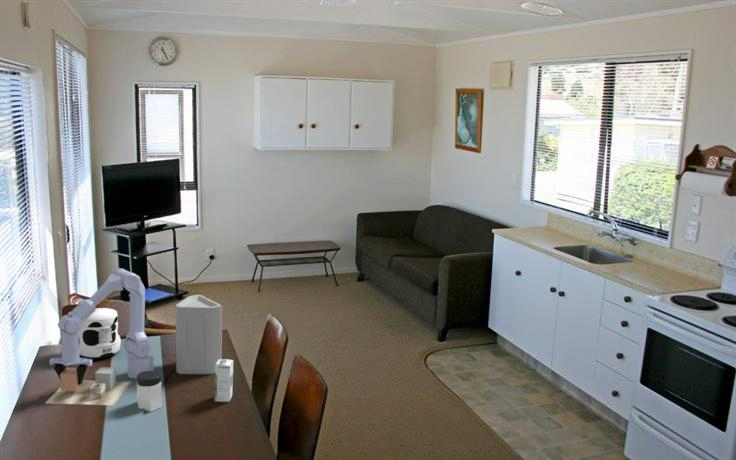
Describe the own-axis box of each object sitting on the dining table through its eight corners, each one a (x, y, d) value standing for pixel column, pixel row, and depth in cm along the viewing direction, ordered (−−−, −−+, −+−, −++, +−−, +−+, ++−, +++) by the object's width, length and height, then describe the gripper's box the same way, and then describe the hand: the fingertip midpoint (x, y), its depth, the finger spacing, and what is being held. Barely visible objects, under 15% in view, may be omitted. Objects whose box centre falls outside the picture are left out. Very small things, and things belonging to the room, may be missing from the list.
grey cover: (116, 383, 251) (115, 367, 249) (110, 390, 245) (110, 373, 244) (101, 383, 250) (100, 367, 249) (95, 389, 245) (95, 373, 244)
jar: (163, 409, 234) (162, 378, 232) (139, 413, 230) (138, 381, 228) (159, 399, 242) (158, 368, 239) (135, 402, 238) (135, 371, 236)
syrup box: (217, 395, 247) (217, 358, 245) (233, 395, 248) (233, 359, 245) (214, 401, 242) (214, 364, 239) (230, 402, 242) (230, 365, 239)
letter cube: (105, 393, 242) (105, 383, 241) (101, 398, 238) (101, 387, 237) (94, 393, 242) (94, 382, 241) (90, 398, 238) (89, 387, 237)
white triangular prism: (166, 365, 272) (166, 300, 267) (199, 357, 282) (199, 294, 277) (188, 380, 259) (188, 312, 253) (222, 371, 269) (222, 305, 263)
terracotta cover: (82, 384, 244) (82, 368, 243) (76, 391, 238) (76, 374, 237) (67, 384, 244) (66, 367, 242) (60, 390, 238) (60, 373, 237)
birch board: (131, 384, 253) (131, 381, 253) (113, 407, 234) (113, 405, 233) (68, 382, 252) (68, 379, 252) (44, 405, 233) (44, 403, 232)
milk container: (91, 344, 290) (89, 305, 287) (128, 348, 288) (127, 309, 285) (68, 359, 273) (66, 318, 270) (107, 363, 271) (106, 321, 268)
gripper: (45, 351, 234) (46, 387, 237) (86, 352, 235) (87, 388, 237) (53, 344, 241) (55, 379, 244) (94, 345, 241) (95, 380, 244)
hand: (71, 383), depth 241 cm, fingers closed on terracotta cover, 6 cm apart
